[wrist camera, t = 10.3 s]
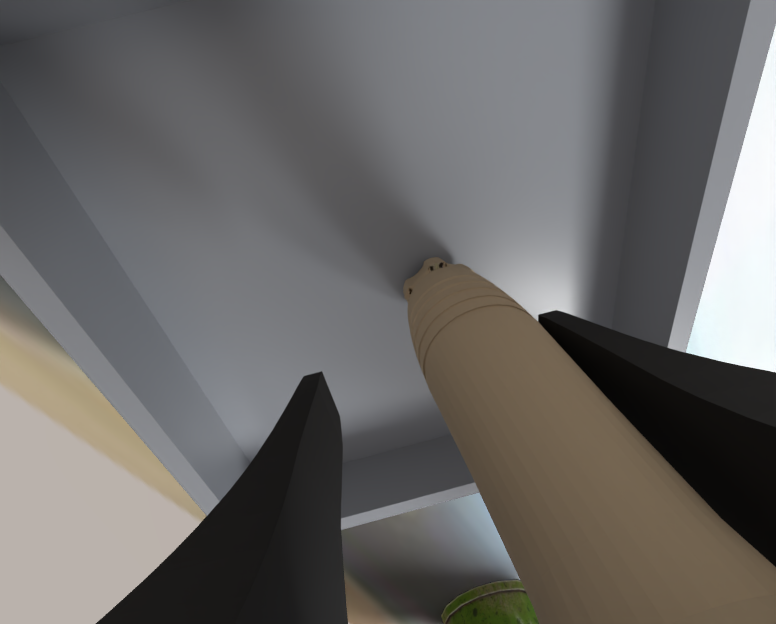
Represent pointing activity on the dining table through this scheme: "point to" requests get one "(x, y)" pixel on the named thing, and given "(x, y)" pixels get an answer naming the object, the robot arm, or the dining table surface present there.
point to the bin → (353, 199)
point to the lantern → (492, 605)
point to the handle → (573, 472)
